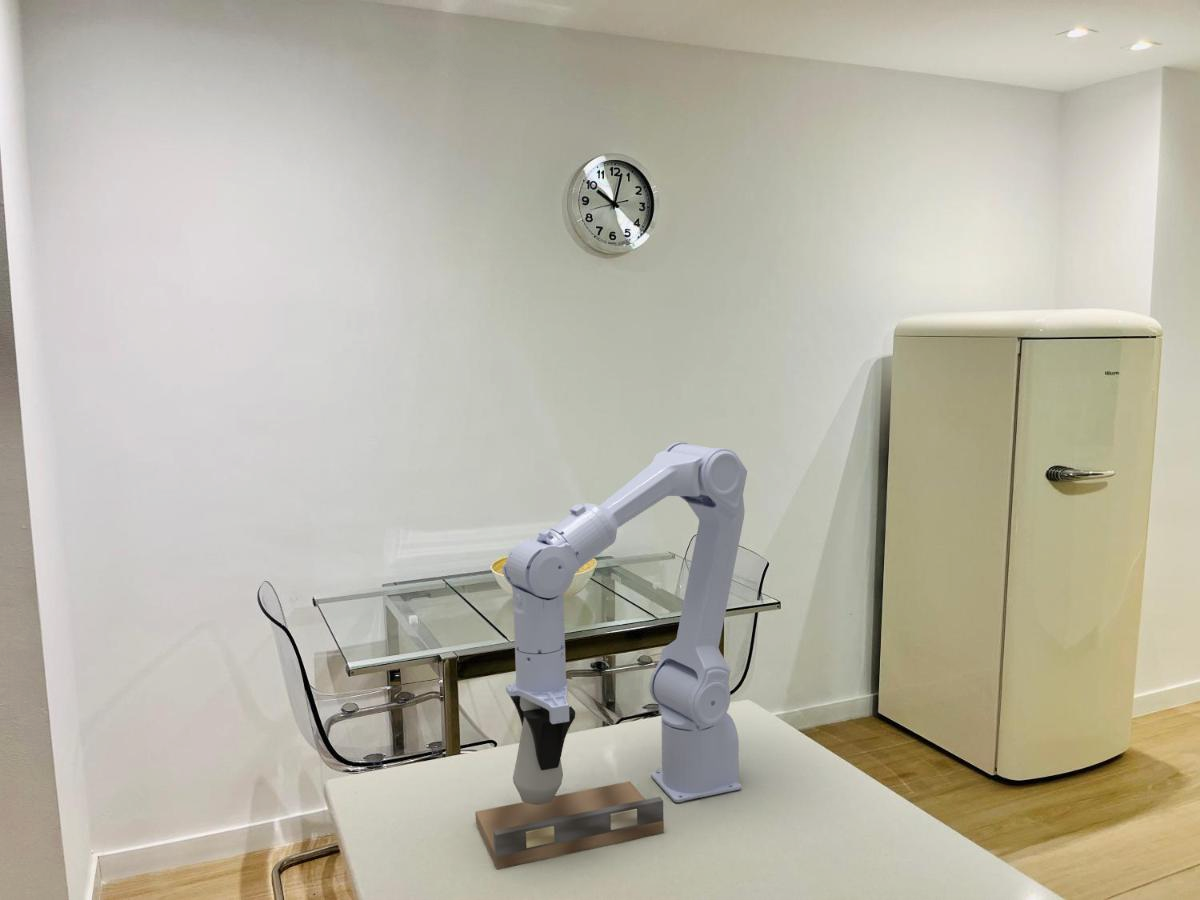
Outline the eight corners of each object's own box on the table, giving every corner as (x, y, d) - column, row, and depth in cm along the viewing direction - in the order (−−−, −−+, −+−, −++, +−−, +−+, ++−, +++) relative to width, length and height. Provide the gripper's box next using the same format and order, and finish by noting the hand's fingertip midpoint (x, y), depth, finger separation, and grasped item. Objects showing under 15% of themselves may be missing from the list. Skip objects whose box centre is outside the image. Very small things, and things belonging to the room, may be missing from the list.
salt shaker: (568, 788, 110) (570, 683, 109) (554, 812, 105) (556, 701, 103) (522, 781, 112) (523, 677, 110) (505, 804, 106) (506, 695, 105)
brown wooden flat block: (630, 792, 119) (629, 762, 118) (664, 833, 109) (663, 801, 108) (475, 823, 112) (474, 791, 111) (497, 870, 102) (496, 835, 101)
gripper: (490, 631, 111) (494, 740, 113) (523, 671, 98) (526, 794, 100) (547, 624, 114) (550, 730, 116) (586, 662, 100) (589, 782, 102)
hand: (543, 759), depth 108 cm, fingers closed on salt shaker, 4 cm apart
